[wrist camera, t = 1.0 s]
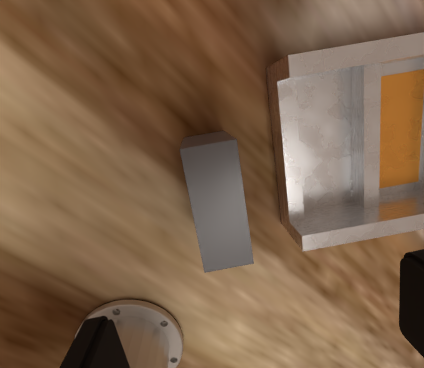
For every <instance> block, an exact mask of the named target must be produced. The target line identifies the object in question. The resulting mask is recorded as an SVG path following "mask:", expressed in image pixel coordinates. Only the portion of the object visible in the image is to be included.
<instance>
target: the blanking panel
mask: <svg viewBox="0 0 424 368" xmlns="http://www.w3.org/2000/svg"><path fill="white" fill-rule="evenodd" d="M180 153H181V158H182V163H183V168H184V173H185V178H186V183H187V188H188V193H189V198H190V203H191V208H192V213H193V218H194V223H195V228H196V233H197V238H198V243H199V248H200V253H201V258H202V262H203V267H204V272H211V271H216V270H221V269H227V268H232V267H237V266H243V265H248V264H254V261H253V254H252V247H251V240H250V233H249V225H248V218H247V211H246V204H245V196H244V189H243V182H242V175H241V168H240V160H239V153H238V146H237V139H236V138H234V137H233V136H231V135H230V134H228V133H227V132H225V131H219V132H213V133H208V134H202V135H196V136H190V137H185V138H183V141H182V144H181V147H180Z"/></svg>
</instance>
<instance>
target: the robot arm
mask: <svg viewBox="0 0 424 368" xmlns="http://www.w3.org/2000/svg"><path fill="white" fill-rule="evenodd" d="M399 327H400V330H401V332H402V334H403V335H404V337H405V338H406V339H407V340H408V341H409V342H410V343H411V345H412V346H413V347H414V348H415V349H416V350H417V351H418V352H419V353H420V354H421V355H422V356H423V357H424V249H423V250H418V251H413V252H408V253H406V254H405V255H404V258H403V259H402V260H401V262H400V306H399ZM182 351H183V336H182V332H181V329H180V327H179V325H178V323H177V322H176V320H175V319H174V318H173V317H172V316H171V315H170V314H169V313H168V312H167V311H165V310H164V309H162V308H160V307H159V306H157V305H154V304H152V303H149V302H146V301H140V300H119V301H113V302H110V303H107V304H104V305H102V306H100V307H98V308H96V309H95V310H94V311H92V312H91V313H90V314H88V315H87V317H86V318H85V319H84V320H83V321H82V323H81V325H80V327H79V329H78V330H77V333H76V335H75V338H74V341H73V343H72V345H71V347H70V349H69V351H68V353H67V355H66V356H65V358H64V360H63V362H62V364H61V366H60V368H176V367H177V365H178V364H179V362H180V359H181V357H182Z"/></svg>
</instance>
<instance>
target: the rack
mask: <svg viewBox="0 0 424 368" xmlns="http://www.w3.org/2000/svg"><path fill="white" fill-rule="evenodd" d="M266 76H267V86H268V96H269V106H270V116H271V126H272V136H273V146H274V156H275V166H276V176H277V186H278V197H279V207H280V217H281V224H282V225H283V226H284V227H285V229H286V230H287V231H288V233H289V234H290V235H291V236H292V238H293V239H294V240H295V242H296V243H297V244H298V245H299V247H300V248H301V249H302V251H308V250H313V249H318V248H324V247H329V246H334V245H340V244H345V243H351V242H356V241H361V240H367V239H372V238H377V237H383V236H388V235H394V234H399V233H404V232H410V231H415V230H421V229H424V32H422V33H416V34H410V35H404V36H398V37H392V38H387V39H381V40H375V41H369V42H363V43H357V44H351V45H345V46H340V47H334V48H328V49H322V50H316V51H310V52H304V53H298V54H292V55H288V56H286V57H284V58H283V59H281V60H279V61H277V62H276V63H274V64H272V65H270V66H269V67H267V68H266Z"/></svg>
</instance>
